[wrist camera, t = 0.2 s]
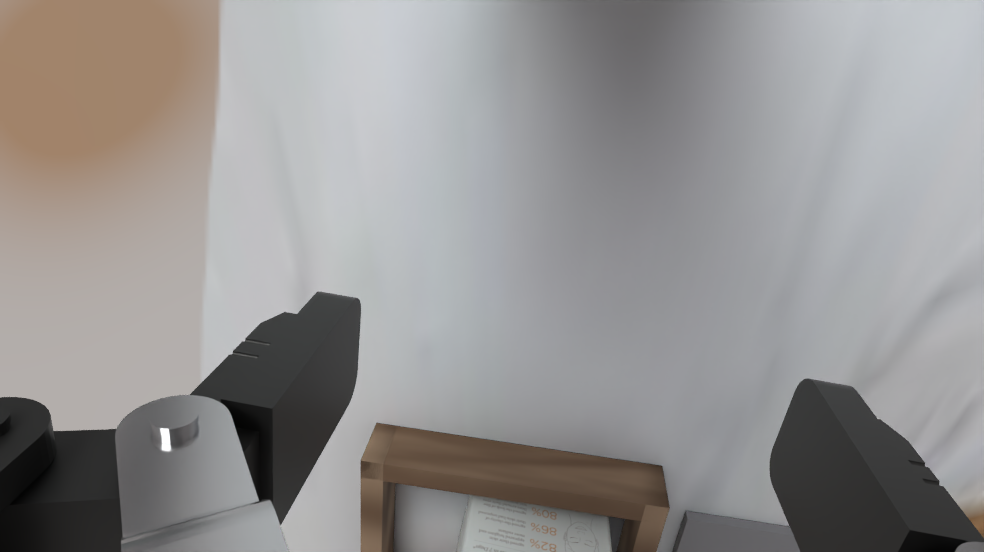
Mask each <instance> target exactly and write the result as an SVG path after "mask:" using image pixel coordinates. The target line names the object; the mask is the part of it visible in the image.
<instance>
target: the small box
mask: <svg viewBox="0 0 984 552" xmlns="http://www.w3.org/2000/svg"><path fill="white" fill-rule="evenodd" d="M456 552H612V546H611V535H610V524H609V516H604V515H597V514H591V513H584V512H578V511H572V510H565V509H559V508H552V507H546V506H540V505H533V504H527V503H520V502H514V501H507V500H501V499H495V498H488V497H482V496H475V495H469V499H468V503H467V507H466V511H465V515H464V519H463V523H462V527H461V531H460V535H459V539H458V545H457V551H456Z"/></svg>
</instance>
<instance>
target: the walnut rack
mask: <svg viewBox="0 0 984 552" xmlns="http://www.w3.org/2000/svg"><path fill="white" fill-rule="evenodd" d="M396 483H398V484H405V485H411V486H418V487H424V488H430V489H437V490H443V491H450V492H456V493H463V494H469V495H475V496H482V497H488V498H495V499H501V500H507V501H514V502H520V503H527V504H533V505H540V506H546V507H552V508H559V509H565V510H572V511H578V512H584V513H591V514H597V515H604V516H610V517H617V518H623V519H625V521H624V525H623V529H622V532H621V536H620V540H619V543H618V547H617V551H616V552H656V551H657V548H658V544H659V541H660V538H661V535H662V531H663V528H664V525H665V522H666V518H667V515H668V512H669V509H670V507H669V502H668V496H667V491H666V485H665V480H664V474H663V469H662V466H659V465H652V464H645V463H639V462H632V461H625V460H619V459H612V458H605V457H599V456H592V455H586V454H579V453H572V452H566V451H559V450H552V449H546V448H539V447H532V446H526V445H519V444H512V443H506V442H499V441H493V440H486V439H479V438H473V437H466V436H459V435H453V434H446V433H439V432H433V431H426V430H420V429H413V428H406V427H400V426H393V425H386V424H380V423H376V426H375V428H374V430H373V433H372V435H371V437H370V440H369V442H368V445H367V447H366V449H365V452H364V454H363V456H362V459H361V552H393V546H394V515H395V485H396Z"/></svg>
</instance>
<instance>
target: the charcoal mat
mask: <svg viewBox="0 0 984 552" xmlns="http://www.w3.org/2000/svg"><path fill="white" fill-rule="evenodd" d="M673 552H800V549H799V547H798V545H797V542H796V540H795V537H794V535H793V533H792V530H791V528H790V527H787V526H781V525H774V524H768V523H761V522H755V521H748V520H742V519H735V518H729V517H722V516H716V515H710V514H703V513H697V512H690V511H686V512H685V515H684V518H683V521H682V524H681V528H680V531H679V534H678V537H677V540H676V543H675V546H674V549H673Z"/></svg>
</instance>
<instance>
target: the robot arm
mask: <svg viewBox="0 0 984 552" xmlns="http://www.w3.org/2000/svg"><path fill="white" fill-rule="evenodd" d="M360 318H361V304H360V300H359V299H358V298H353V297H347V296H342V295H336V294H330V293H325V292H317V293H316V294H315V295H314V296H313V297H312V298H311V299H310V300H309V302H308V303H307V304H306V305H305V306H304V307H303V308H302V309H301V310H300V312H299V313H298V314H292V313H287V312H284V313H282V314H280V315H277V316H275V317H273V318H271V319H269V320H267V321H264V322H262V323H260V324H259V325H258V326H257V327H256V328H255V329H254V330H253V331H252V332H251V334H250V335H249V336H248V337H247V338H246V340H245V342H242V343H241V344H240V345H239V346H238V347H237V348H236V349H235V350H234V351H233V354H232V355H229V356H228V357H227V358H226V359H225V360H224V361H223V362H222V363H221V364H220V365H219V366H218V367H217V368H216V369H215V370H214V371H213V372H212V373H211V374H210V375H209V376H208V377H207V378H206V379H205V380H204V381H203V382H202V383H201V384H200V385H199V386H198V387H197V388H196V389H195V390H194V391H193V392H192V393H191V394H190V395H179V396H171V397H166V398H161V399H158V400H155V401H152V402H149V403H147V404H145V405H142V406H140V407H139V408H137V409H135V410H133V411H132V412H131V413H129V414H128V415H127V416H126V417H125V418H124V419H123V420H122V421H121V422H120V424H119V425H118V427H117V429H109V430H81V431H53V427H52V421H51V415H50V413H49V410H48V409H47V408H46V407H45V406H44V405H42V404H41V403H39V402H37V401H34V400H31V399H26V398H18V397H2V398H0V552H289V549H288V546H287V543H286V540H285V537H284V535H283V532H282V529H281V526H280V525H281V524H282V522H283V520H284V518H285V517H286V515H287V513H288V511H289V510H290V508H291V506H292V504H293V502H294V501H295V499H296V497H297V495H298V494H299V492H300V490H301V488H302V486H303V485H304V483H305V481H306V479H307V478H308V476H309V474H310V472H311V471H312V469H313V467H314V465H315V463H316V462H317V460H318V458H319V456H320V455H321V453H322V451H323V449H324V447H325V446H326V444H327V442H328V440H329V439H330V437H331V435H332V433H333V432H334V430H335V428H336V426H337V424H338V423H339V421H340V419H341V417H342V416H343V414H344V412H345V410H346V408H347V407H348V405H349V403H350V400H351V398H352V395H353V392H354V388H355V384H356V378H357V370H358V353H359V336H360ZM770 477H771V482H772V485H773V488H774V490H775V492H776V495H777V497H778V500H779V502H780V504H781V507H782V509H783V511H784V514H785V516H786V519H787V521H788V523H789V526H790V528H791V530H792V533H793V535H794V537H795V540H796V542H797V545H798V547H799V549H800V552H984V538H983V537H982V535H981V534H980V533H979V532H978V530H977V529H976V528H975V527H974V525H973V524H972V523H971V521H970V520H969V519H968V518H967V516H966V515H965V514H964V512H963V511H962V510H961V509H960V507H959V506H958V505H957V503H956V502H955V501H954V500H953V498H952V497H951V496H950V494H949V493H948V492H947V491H946V489H945V488H944V487H943V486H939V480H938V479H937V478H936V476H935V475H934V474H933V473H932V471H931V470H930V469H929V468H928V467H925V462H924V461H923V460H922V458H921V457H920V456H919V455H918V453H917V452H916V451H915V449H914V448H913V447H912V446H911V444H910V443H909V442H908V441H907V440H906V439H905V438H903V437H902V436H901V435H900V434H898V433H897V432H896V431H895V430H893V429H892V428H891V427H889V426H888V425H887V424H886V423H884V422H883V421H882V420H880V419H877V418H876V416H875V415H874V414H873V412H872V411H871V410H870V408H869V407H868V406H867V404H866V403H865V402H864V400H863V399H862V398H861V396H860V395H859V394H858V392H857V391H856V390H855V389H854V388H853V387H851V386H847V385H841V384H835V383H830V382H824V381H818V380H813V379H804V380H803V381H801V382H800V384H799V385H798V386H797V388H796V390H795V393H794V395H793V398H792V400H791V403H790V405H789V408H788V411H787V413H786V416H785V418H784V421H783V423H782V426H781V428H780V431H779V433H778V436H777V438H776V441H775V444H774V446H773V449H772V453H771V458H770Z"/></svg>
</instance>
